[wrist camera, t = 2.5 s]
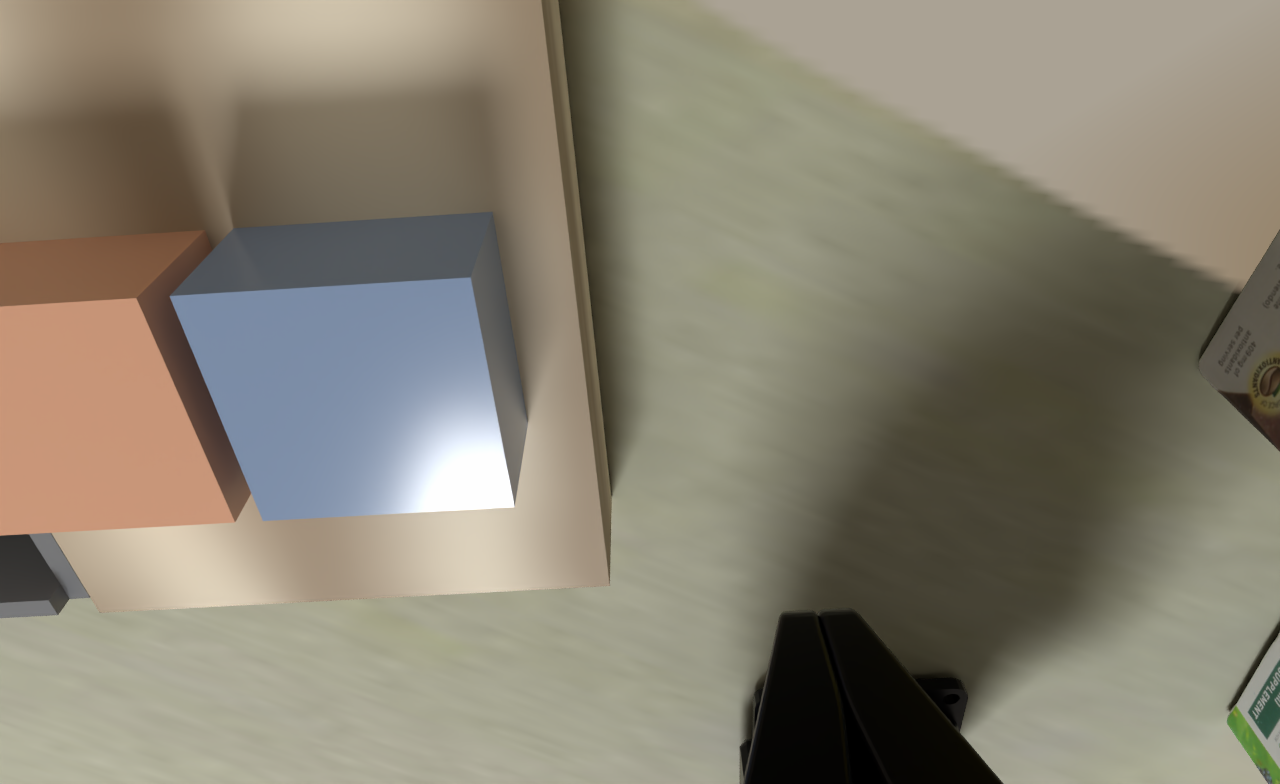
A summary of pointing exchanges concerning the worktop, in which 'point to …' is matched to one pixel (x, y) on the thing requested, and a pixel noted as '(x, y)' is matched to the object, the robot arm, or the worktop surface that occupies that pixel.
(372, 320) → the blue-glazed tile
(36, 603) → the charcoal tray
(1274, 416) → the coffee box
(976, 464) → the worktop surface
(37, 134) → the birch board
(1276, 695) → the syrup box
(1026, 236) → the worktop surface
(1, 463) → the terracotta tile
